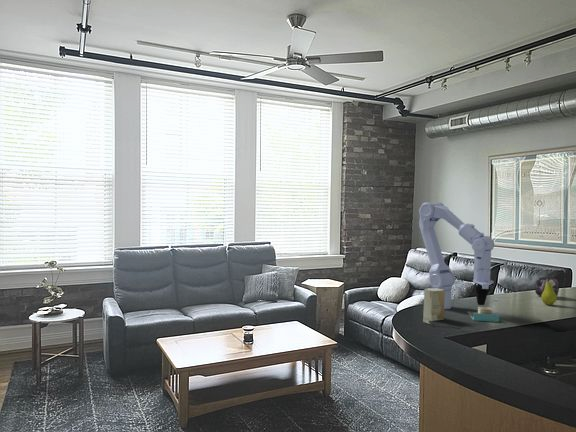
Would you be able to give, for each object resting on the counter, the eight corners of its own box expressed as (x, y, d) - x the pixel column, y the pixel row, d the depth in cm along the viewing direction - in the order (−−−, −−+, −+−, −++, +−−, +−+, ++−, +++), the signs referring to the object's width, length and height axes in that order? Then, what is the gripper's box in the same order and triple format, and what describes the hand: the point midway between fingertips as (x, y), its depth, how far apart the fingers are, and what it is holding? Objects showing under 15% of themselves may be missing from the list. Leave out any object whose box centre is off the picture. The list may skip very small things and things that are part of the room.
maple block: (480, 320, 166) (480, 309, 166) (477, 317, 170) (478, 306, 170) (491, 320, 165) (492, 309, 165) (489, 318, 169) (489, 307, 169)
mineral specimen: (532, 294, 215) (534, 273, 218) (536, 299, 223) (537, 279, 226) (557, 296, 209) (558, 275, 212) (559, 301, 217) (560, 281, 220)
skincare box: (431, 325, 164) (432, 290, 163) (422, 322, 168) (423, 288, 167) (444, 323, 167) (445, 289, 166) (435, 320, 171) (436, 287, 170)
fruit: (559, 306, 197) (560, 278, 197) (545, 306, 197) (546, 278, 197) (551, 303, 203) (552, 276, 203) (538, 303, 203) (539, 276, 203)
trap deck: (466, 315, 179) (467, 305, 179) (489, 316, 178) (490, 306, 177) (473, 324, 165) (473, 313, 165) (498, 326, 164) (499, 315, 164)
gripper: (498, 272, 165) (496, 309, 166) (489, 266, 179) (488, 301, 180) (477, 271, 167) (475, 308, 167) (470, 265, 181) (469, 300, 181)
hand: (480, 304), depth 174 cm, fingers closed
